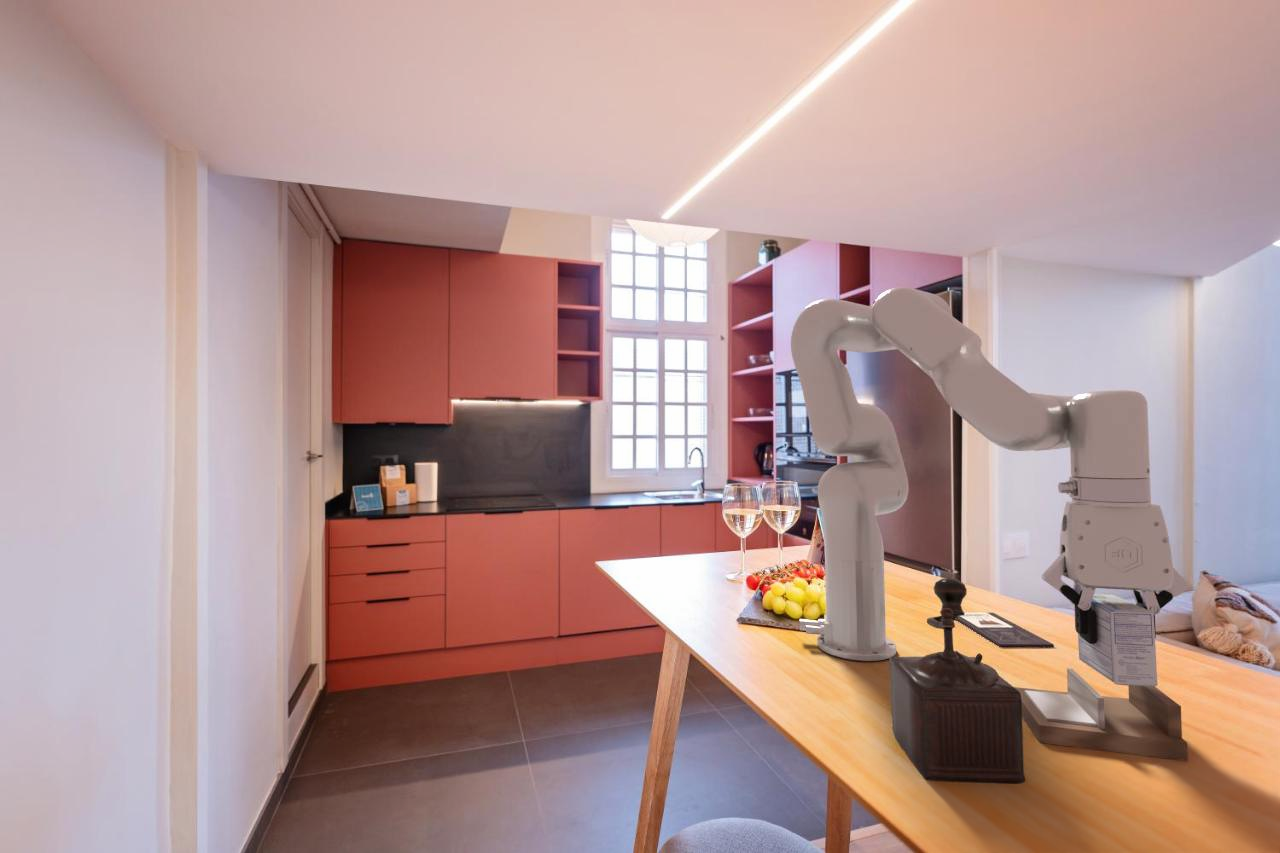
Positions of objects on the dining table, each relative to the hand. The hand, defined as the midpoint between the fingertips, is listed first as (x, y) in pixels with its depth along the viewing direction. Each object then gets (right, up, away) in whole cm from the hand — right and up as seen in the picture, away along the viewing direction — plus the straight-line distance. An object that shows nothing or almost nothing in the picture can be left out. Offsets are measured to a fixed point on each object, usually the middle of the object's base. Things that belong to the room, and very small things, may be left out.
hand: (1114, 640), depth 71 cm
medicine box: (0, -4, 0) cm, 4 cm away
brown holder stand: (-3, -11, +1) cm, 11 cm away
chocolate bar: (+8, -12, +37) cm, 40 cm away
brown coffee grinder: (-22, -11, -3) cm, 25 cm away
